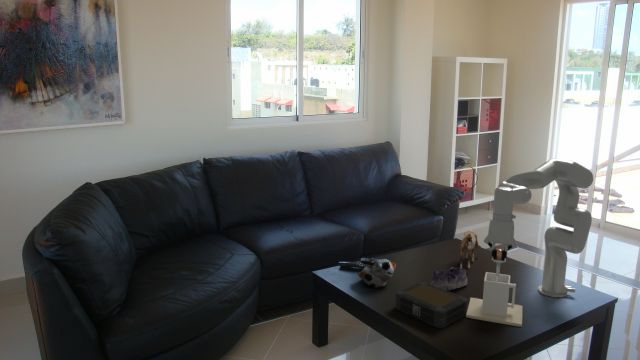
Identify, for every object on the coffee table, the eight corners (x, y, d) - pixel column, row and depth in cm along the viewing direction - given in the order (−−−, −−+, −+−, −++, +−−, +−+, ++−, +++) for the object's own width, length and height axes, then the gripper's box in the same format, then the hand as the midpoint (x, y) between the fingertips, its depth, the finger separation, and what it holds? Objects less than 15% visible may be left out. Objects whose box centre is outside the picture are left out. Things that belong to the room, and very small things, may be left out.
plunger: (506, 293, 219) (510, 248, 215) (505, 301, 212) (509, 254, 207) (486, 290, 222) (490, 245, 218) (485, 298, 215) (488, 251, 210)
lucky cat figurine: (372, 273, 260) (387, 249, 256) (389, 291, 252) (405, 266, 248) (352, 273, 248) (368, 248, 244) (369, 292, 240) (386, 266, 235)
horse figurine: (469, 275, 258) (472, 237, 254) (454, 272, 262) (456, 234, 258) (480, 256, 285) (483, 221, 281) (467, 253, 289) (469, 219, 285)
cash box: (392, 309, 223) (393, 292, 221) (421, 295, 236) (422, 280, 234) (439, 330, 204) (440, 312, 202) (468, 315, 217) (469, 298, 215)
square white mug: (522, 308, 223) (525, 274, 219) (521, 326, 206) (525, 290, 203) (470, 299, 231) (472, 266, 227) (466, 317, 214) (468, 282, 211)
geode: (443, 296, 234) (441, 276, 233) (425, 291, 244) (423, 271, 243) (472, 285, 245) (471, 265, 244) (454, 280, 255) (453, 260, 254)
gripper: (523, 216, 210) (519, 258, 214) (482, 212, 216) (479, 253, 220) (523, 221, 203) (519, 264, 207) (480, 217, 209) (477, 259, 213)
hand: (498, 258), depth 213 cm, fingers closed on plunger, 3 cm apart
